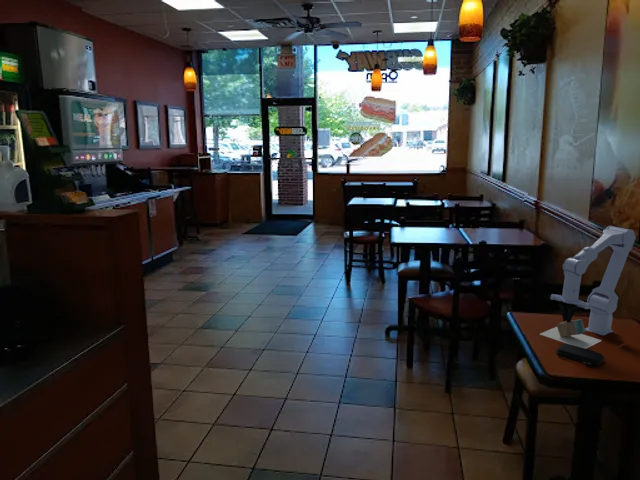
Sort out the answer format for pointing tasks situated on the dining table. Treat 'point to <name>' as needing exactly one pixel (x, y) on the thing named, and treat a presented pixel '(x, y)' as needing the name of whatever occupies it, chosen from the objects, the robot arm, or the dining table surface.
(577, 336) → the mat
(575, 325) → the teal and wood block
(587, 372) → the dining table surface
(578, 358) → the carrying case or bag
